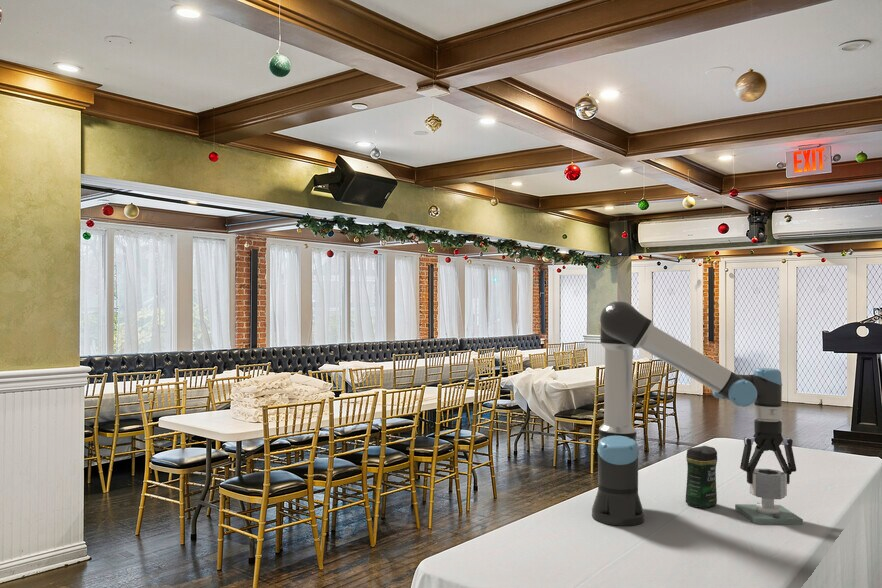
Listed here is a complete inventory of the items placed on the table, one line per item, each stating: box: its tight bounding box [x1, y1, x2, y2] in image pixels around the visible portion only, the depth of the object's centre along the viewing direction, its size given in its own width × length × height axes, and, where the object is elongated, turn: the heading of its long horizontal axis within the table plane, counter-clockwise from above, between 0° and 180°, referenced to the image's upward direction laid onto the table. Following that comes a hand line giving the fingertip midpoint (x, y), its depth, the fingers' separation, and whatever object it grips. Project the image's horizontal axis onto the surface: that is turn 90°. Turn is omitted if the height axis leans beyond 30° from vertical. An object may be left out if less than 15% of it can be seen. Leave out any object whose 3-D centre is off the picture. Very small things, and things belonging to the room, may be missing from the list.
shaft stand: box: [734, 498, 804, 525], centre depth 206 cm, size 14×14×10 cm
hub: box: [754, 468, 786, 500], centre depth 206 cm, size 8×8×7 cm
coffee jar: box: [685, 445, 718, 509], centre depth 217 cm, size 10×8×19 cm
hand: (768, 494), depth 206 cm, fingers closed on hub, 8 cm apart
